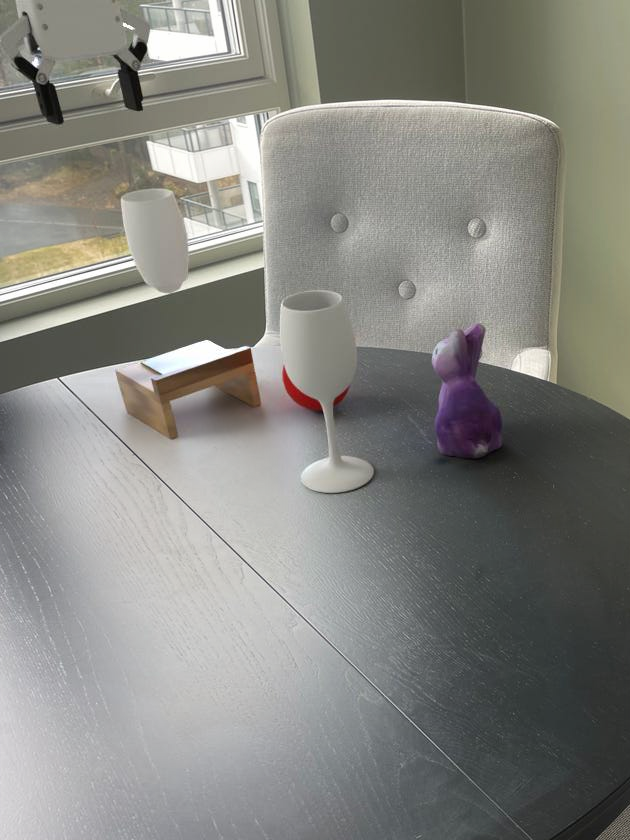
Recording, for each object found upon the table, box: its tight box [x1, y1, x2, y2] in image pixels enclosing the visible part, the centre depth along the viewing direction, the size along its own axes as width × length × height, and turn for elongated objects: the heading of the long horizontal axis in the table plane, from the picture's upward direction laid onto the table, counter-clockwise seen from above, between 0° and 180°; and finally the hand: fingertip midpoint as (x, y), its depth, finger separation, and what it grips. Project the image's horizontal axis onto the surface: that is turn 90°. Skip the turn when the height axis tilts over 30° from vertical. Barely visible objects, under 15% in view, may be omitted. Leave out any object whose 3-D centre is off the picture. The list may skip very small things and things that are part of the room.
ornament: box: [281, 363, 351, 412], centre depth 128 cm, size 9×9×10 cm
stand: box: [114, 339, 262, 440], centre depth 130 cm, size 12×14×8 cm
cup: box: [120, 188, 190, 295], centre depth 123 cm, size 7×7×21 cm
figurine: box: [431, 322, 503, 459], centre depth 117 cm, size 9×10×15 cm
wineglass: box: [279, 289, 375, 494], centre depth 109 cm, size 9×9×21 cm
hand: (96, 116), depth 111 cm, fingers open, 9 cm apart
